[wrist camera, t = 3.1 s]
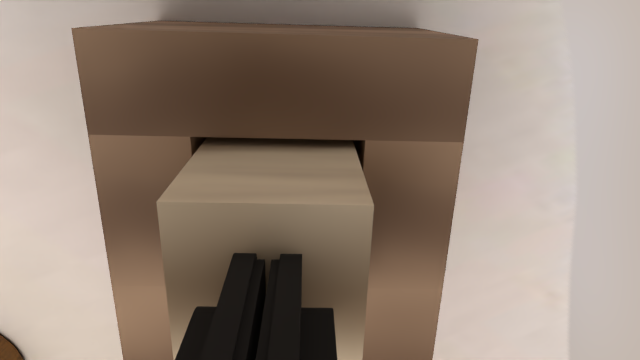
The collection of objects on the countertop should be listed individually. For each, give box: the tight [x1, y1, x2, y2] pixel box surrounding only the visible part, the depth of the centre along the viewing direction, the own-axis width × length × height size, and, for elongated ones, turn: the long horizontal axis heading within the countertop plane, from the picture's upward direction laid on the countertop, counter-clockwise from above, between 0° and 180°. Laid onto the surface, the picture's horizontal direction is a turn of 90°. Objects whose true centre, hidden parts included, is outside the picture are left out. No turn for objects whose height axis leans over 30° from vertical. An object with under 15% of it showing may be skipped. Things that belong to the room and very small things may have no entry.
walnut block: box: [72, 21, 478, 360], centre depth 21 cm, size 24×12×8 cm, turn 178°
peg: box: [156, 137, 374, 360], centre depth 15 cm, size 5×5×8 cm
